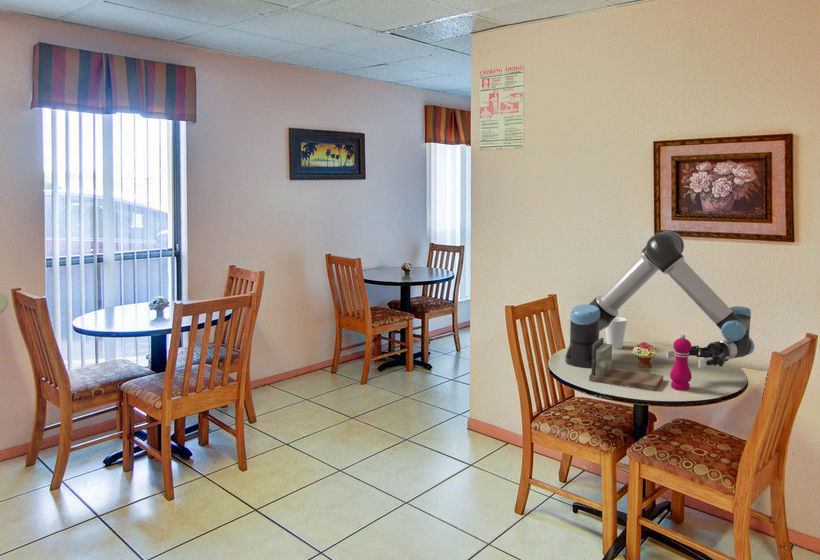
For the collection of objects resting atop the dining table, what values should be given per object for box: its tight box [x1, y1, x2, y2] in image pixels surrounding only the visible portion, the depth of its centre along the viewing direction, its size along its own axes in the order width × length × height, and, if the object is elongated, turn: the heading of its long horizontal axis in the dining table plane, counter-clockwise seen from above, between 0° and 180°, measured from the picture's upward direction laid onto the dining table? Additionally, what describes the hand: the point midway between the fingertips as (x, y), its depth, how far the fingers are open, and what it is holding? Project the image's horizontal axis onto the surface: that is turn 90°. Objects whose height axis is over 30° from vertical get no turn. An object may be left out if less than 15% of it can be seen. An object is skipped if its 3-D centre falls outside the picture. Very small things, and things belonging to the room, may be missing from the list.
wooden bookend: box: [588, 337, 664, 392], centre depth 240 cm, size 24×14×14 cm, turn 58°
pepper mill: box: [669, 334, 692, 391], centre depth 231 cm, size 7×7×20 cm
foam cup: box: [605, 316, 628, 350], centre depth 287 cm, size 10×9×13 cm
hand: (682, 359), depth 230 cm, fingers open, 13 cm apart
